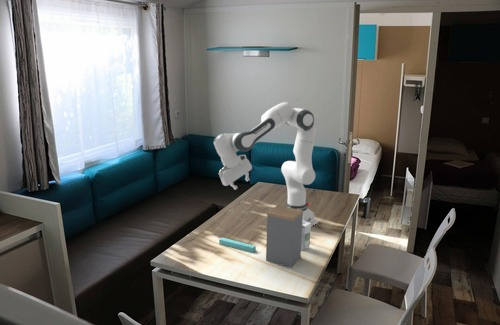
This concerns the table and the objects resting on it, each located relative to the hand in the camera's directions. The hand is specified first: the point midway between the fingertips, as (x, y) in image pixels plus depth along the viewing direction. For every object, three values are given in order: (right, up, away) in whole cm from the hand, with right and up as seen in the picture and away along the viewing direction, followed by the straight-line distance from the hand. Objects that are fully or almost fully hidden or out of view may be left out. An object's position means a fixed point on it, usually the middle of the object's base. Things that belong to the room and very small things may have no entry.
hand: (242, 184), depth 234 cm
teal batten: (-3, -34, -2) cm, 34 cm away
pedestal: (+21, -37, -15) cm, 46 cm away
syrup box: (+33, -34, -2) cm, 48 cm away
